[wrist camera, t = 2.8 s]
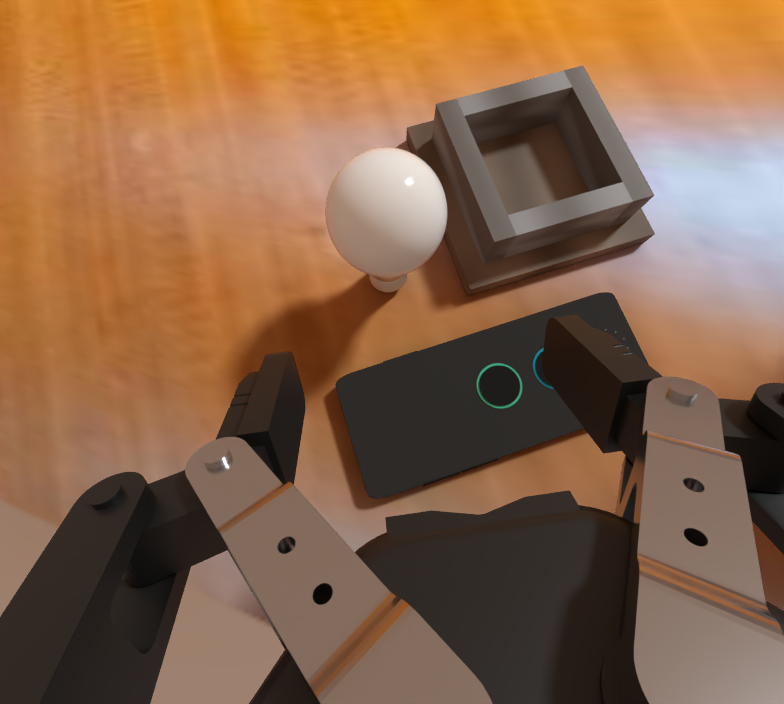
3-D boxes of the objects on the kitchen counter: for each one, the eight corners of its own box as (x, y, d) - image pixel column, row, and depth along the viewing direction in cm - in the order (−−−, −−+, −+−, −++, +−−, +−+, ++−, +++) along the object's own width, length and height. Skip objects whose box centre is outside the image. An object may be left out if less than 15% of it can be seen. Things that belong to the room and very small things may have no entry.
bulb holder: (567, 96, 31) (593, 44, 27) (644, 242, 28) (686, 208, 24) (406, 139, 30) (408, 92, 26) (467, 295, 27) (480, 269, 23)
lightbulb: (347, 324, 27) (317, 244, 16) (341, 243, 28) (311, 121, 18) (437, 316, 27) (466, 231, 16) (426, 235, 28) (447, 110, 18)
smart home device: (669, 401, 24) (370, 505, 23) (651, 403, 26) (372, 501, 25) (611, 286, 26) (332, 376, 25) (598, 295, 28) (335, 380, 26)
